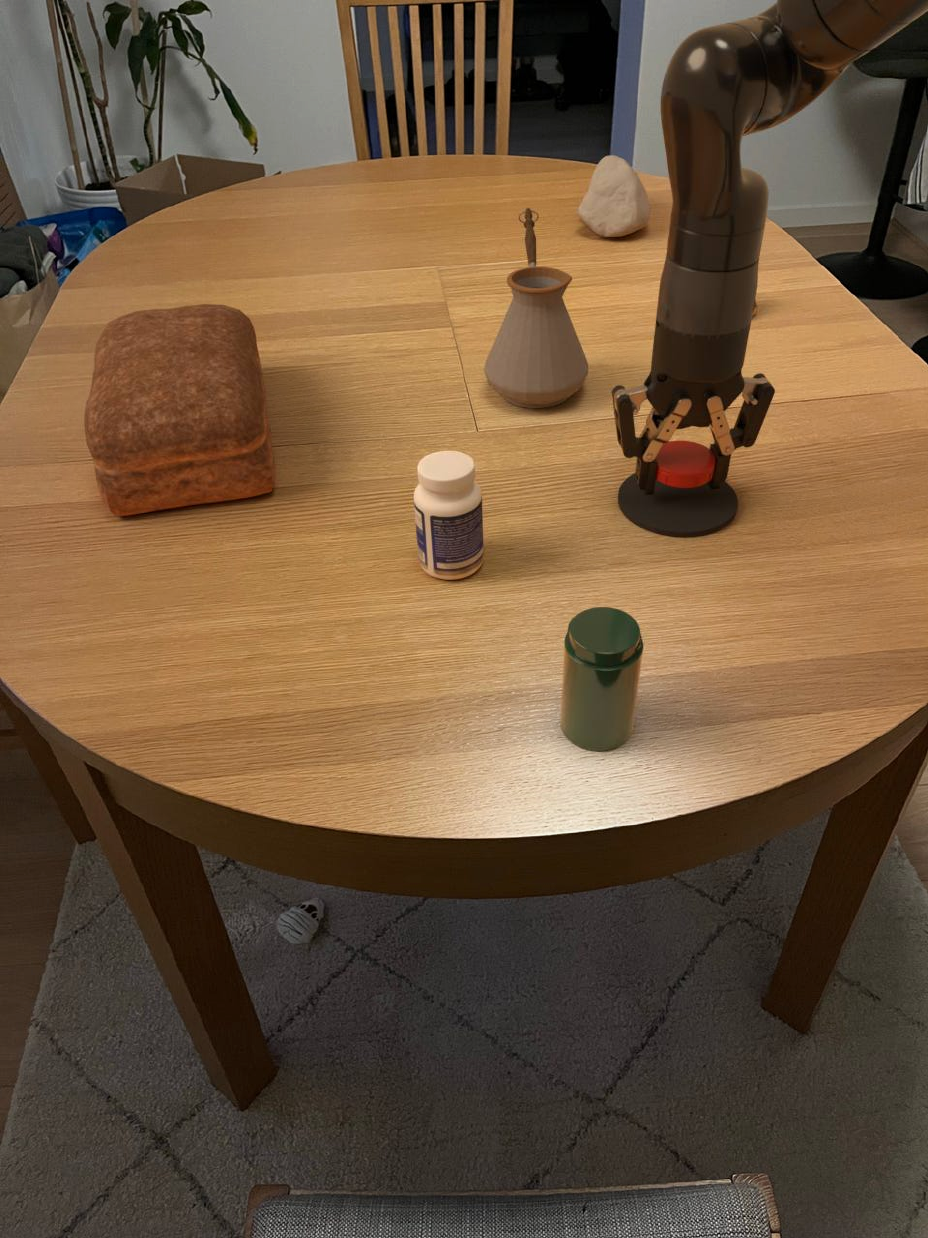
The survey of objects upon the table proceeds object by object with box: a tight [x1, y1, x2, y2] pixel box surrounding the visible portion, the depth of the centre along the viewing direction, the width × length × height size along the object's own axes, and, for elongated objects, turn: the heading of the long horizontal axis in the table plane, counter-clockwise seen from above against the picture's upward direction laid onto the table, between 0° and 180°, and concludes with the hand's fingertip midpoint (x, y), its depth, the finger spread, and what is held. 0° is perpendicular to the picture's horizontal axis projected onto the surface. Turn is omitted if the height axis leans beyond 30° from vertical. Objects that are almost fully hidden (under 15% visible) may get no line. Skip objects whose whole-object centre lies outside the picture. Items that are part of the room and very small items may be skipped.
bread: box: [83, 303, 275, 518], centre depth 95 cm, size 17×29×11 cm, turn 12°
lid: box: [656, 440, 716, 488], centre depth 84 cm, size 6×6×2 cm
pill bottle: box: [413, 450, 485, 581], centre depth 78 cm, size 6×6×10 cm
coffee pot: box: [483, 207, 590, 409], centre depth 103 cm, size 21×12×15 cm, turn 1°
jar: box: [559, 606, 644, 752], centre depth 64 cm, size 5×5×9 cm
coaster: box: [617, 472, 739, 538], centre depth 87 cm, size 11×11×1 cm
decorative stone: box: [576, 154, 652, 238], centre depth 141 cm, size 17×10×10 cm
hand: (679, 486), depth 86 cm, fingers closed on lid, 5 cm apart
